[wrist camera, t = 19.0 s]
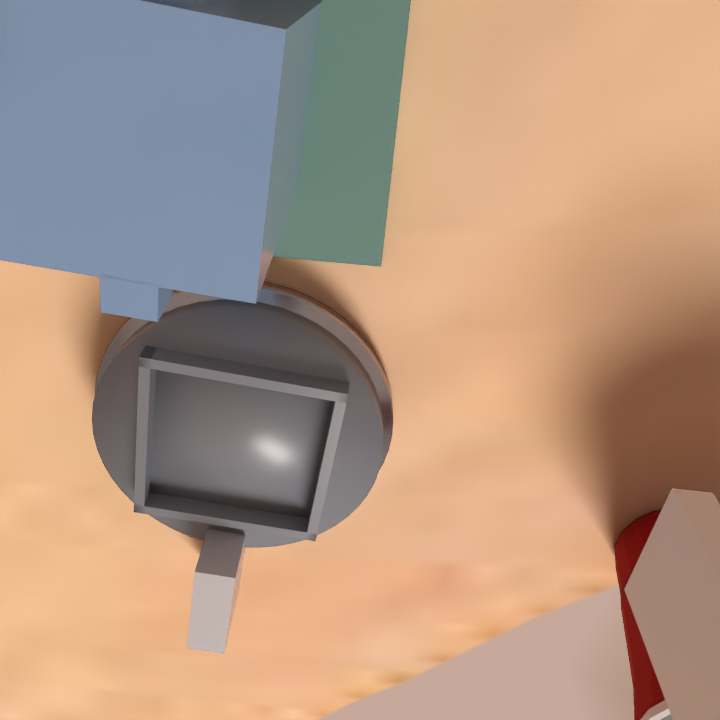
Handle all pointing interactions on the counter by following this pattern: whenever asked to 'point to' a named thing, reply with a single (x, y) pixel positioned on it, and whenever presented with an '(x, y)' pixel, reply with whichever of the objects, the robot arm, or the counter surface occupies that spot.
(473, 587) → the counter surface
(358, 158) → the plate
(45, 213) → the blue block
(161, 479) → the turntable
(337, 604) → the counter surface
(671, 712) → the robot arm
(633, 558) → the plastic cup
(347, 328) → the turntable base
